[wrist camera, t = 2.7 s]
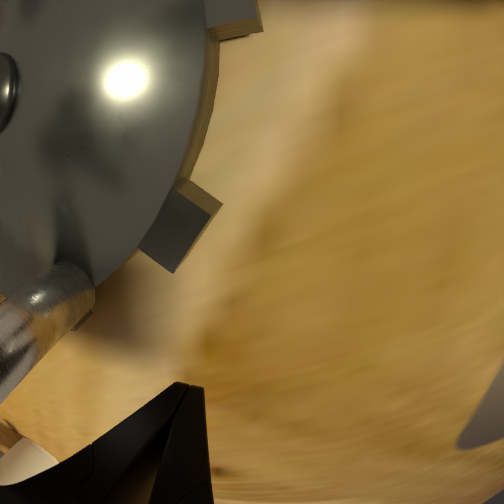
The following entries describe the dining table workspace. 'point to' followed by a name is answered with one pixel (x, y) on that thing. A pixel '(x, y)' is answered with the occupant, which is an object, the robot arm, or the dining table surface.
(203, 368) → the dining table surface
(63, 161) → the sprocket
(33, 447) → the foam cup
